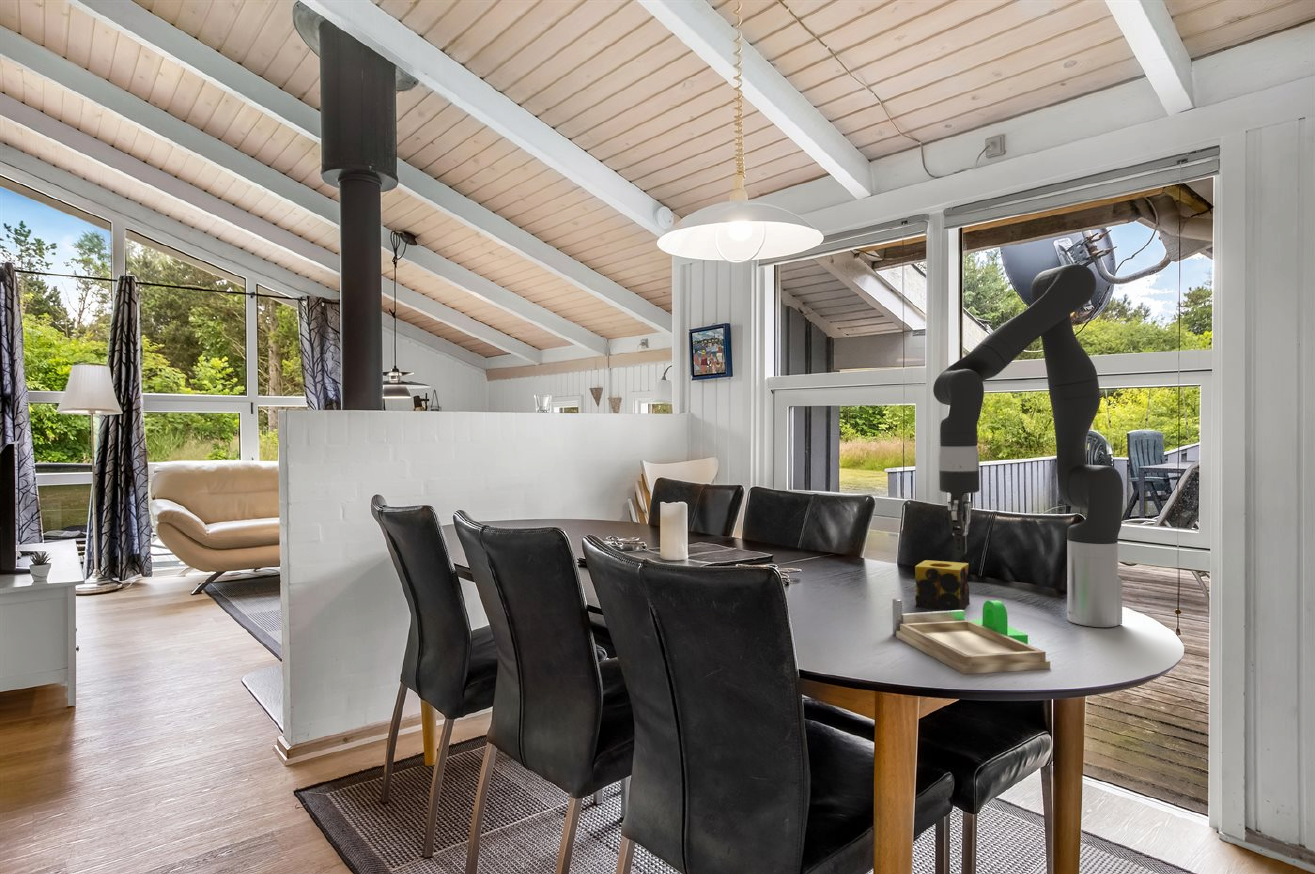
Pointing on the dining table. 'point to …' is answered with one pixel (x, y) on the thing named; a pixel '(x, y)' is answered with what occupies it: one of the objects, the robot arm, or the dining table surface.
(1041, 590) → the dining table surface
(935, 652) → the wooden tray
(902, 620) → the l-shaped metal bracket
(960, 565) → the yellow spotted cube
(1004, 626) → the mechanical part
